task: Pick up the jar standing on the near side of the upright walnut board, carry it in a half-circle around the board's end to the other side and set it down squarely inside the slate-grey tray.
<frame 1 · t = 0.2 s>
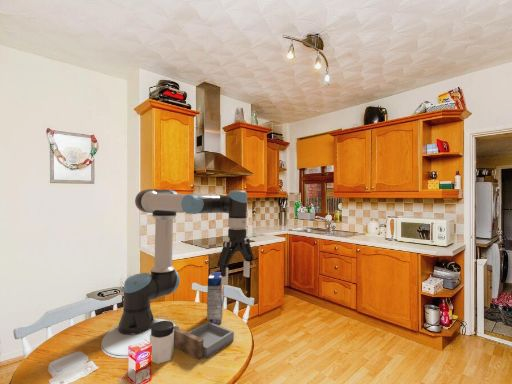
hand: (236, 280, 109), 28 cm above the table, fingers open, 13 cm apart
beverage box: (215, 319, 135), on the table
jar: (161, 357, 102), on the table
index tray: (207, 343, 112), on the table
door board: (186, 351, 106), on the table
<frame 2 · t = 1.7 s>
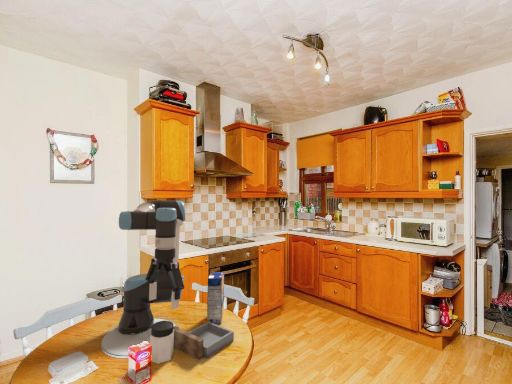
hand: (163, 303, 102), 20 cm above the table, fingers open, 13 cm apart
nothing on the table moved.
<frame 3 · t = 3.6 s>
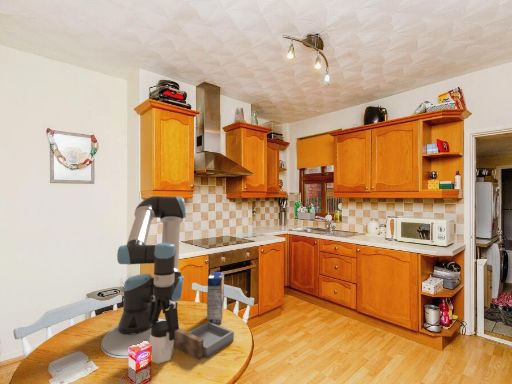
hand: (162, 344, 102), 5 cm above the table, fingers closed on jar, 8 cm apart
jar: (161, 357, 102), on the table, touching gripper
everything else where it was.
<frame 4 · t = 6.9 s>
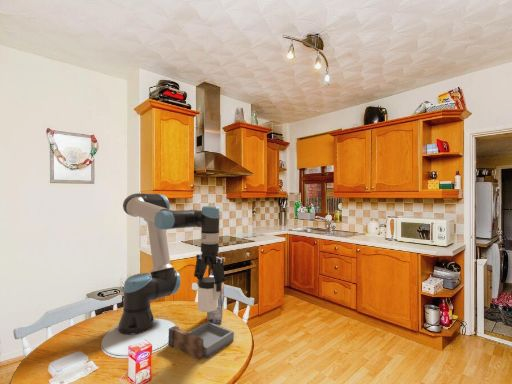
hand: (208, 296, 113), 19 cm above the table, fingers closed on jar, 8 cm apart
jar: (207, 308, 113), point 14 cm above the table, touching gripper
everything else where it was.
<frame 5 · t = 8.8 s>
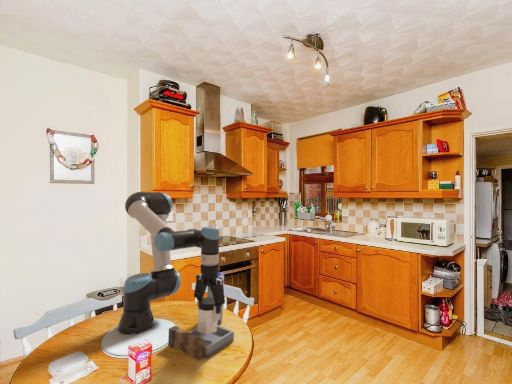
hand: (208, 317, 113), 11 cm above the table, fingers closed on jar, 8 cm apart
jar: (207, 329, 113), point 6 cm above the table, touching gripper
everything else where it was.
when the fingers open (7 cm above the table, at t = 10.6 s): jar stays where it is, resting on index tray.
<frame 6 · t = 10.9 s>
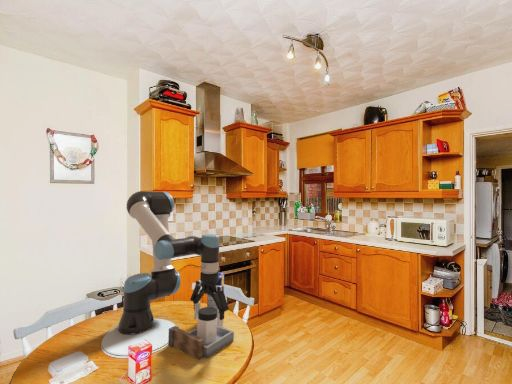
hand: (208, 322, 113), 9 cm above the table, fingers open, 13 cm apart
jar: (207, 339, 113), point 1 cm above the table, touching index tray
everything else where it was.
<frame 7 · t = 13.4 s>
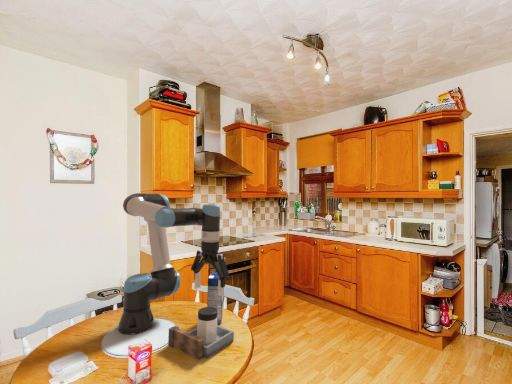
hand: (208, 291, 113), 22 cm above the table, fingers open, 13 cm apart
nothing on the table moved.
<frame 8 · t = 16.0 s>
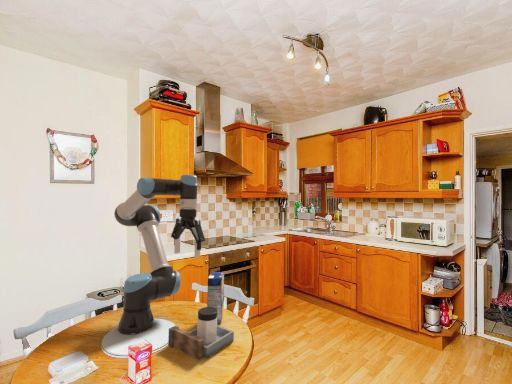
hand: (186, 255, 122), 35 cm above the table, fingers open, 13 cm apart
nothing on the table moved.
at the end: jar inside the target area on the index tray (0.4 cm from its centre), point 1.3 cm above the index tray's base; jar tilted 0°; the gripper is holding nothing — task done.
